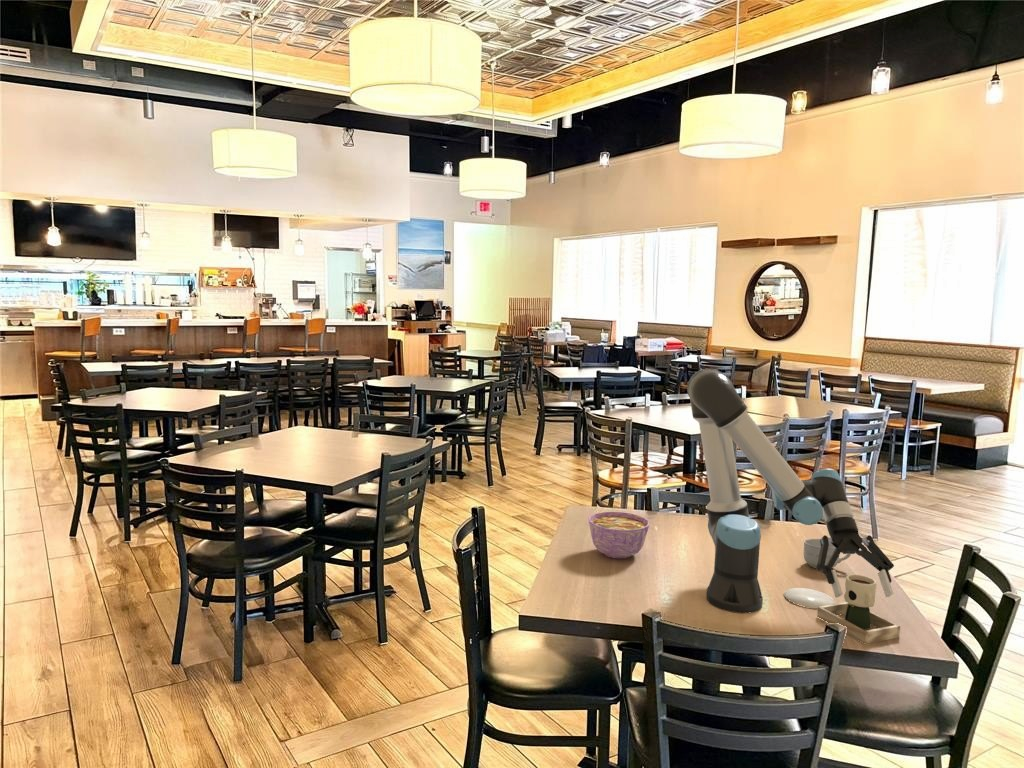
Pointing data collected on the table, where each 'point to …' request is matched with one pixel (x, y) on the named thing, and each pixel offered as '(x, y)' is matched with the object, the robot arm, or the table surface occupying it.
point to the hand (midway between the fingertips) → (864, 595)
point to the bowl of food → (618, 533)
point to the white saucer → (808, 597)
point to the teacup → (813, 551)
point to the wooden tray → (882, 633)
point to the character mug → (859, 599)
